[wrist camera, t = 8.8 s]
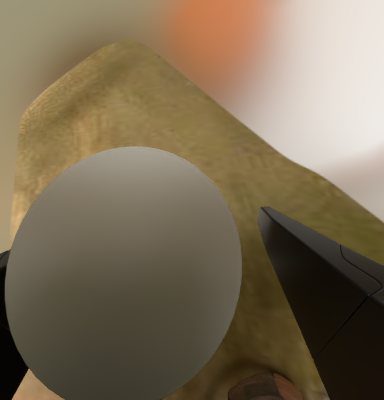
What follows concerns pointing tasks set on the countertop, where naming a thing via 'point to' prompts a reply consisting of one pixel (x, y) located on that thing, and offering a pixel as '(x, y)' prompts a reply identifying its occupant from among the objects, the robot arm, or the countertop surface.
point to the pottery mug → (264, 388)
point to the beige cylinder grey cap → (123, 276)
